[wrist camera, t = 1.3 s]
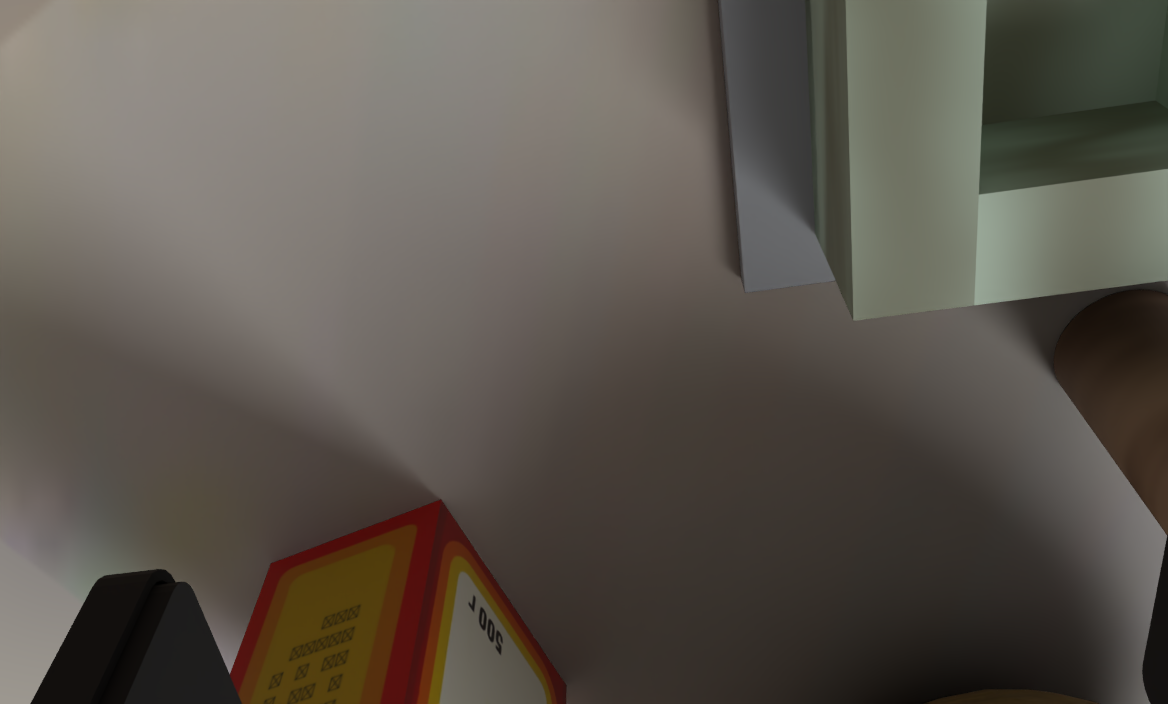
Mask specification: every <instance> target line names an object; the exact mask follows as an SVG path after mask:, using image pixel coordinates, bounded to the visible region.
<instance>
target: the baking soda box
mask: <svg viewBox="0 0 1168 704" xmlns="http://www.w3.org/2000/svg"><path fill="white" fill-rule="evenodd" d="M230 677H231V679H232V681H233V684H234V686H235V688H236V691H237V693H238V695H239V698H240V700H241V702H242V704H566V684H565V683H564V681H563V680H562V678H561V677H560V675H559V674H558V672H557V671H556V669H555V668H554V666H553V665H552V663H551V662H550V660H549V659H548V657H547V656H546V654H545V653H544V651H543V650H542V648H541V647H540V646H539V644H538V643H537V641H536V640H535V638H534V637H533V635H532V634H531V632H530V631H529V629H528V628H527V626H526V625H525V623H524V622H523V620H522V619H521V617H520V616H519V614H518V613H517V611H516V610H515V608H514V607H513V605H512V604H511V602H510V601H509V599H508V598H507V597H506V595H505V594H504V592H503V591H502V589H501V588H500V586H499V585H498V583H497V582H496V580H495V579H494V577H493V576H492V574H491V573H490V571H489V570H488V568H487V567H486V565H485V564H484V562H483V561H482V559H481V558H480V556H479V555H478V553H477V552H476V550H475V549H474V548H473V546H472V545H471V543H470V542H469V540H468V539H467V537H466V536H465V534H464V533H463V531H462V530H461V528H460V527H459V525H458V524H457V522H456V521H455V519H454V518H453V516H452V515H451V513H450V512H449V510H448V509H447V507H446V506H445V504H444V503H443V501H442V500H439V501H436V502H433V503H431V504H428V505H425V506H423V507H420V508H417V509H415V510H412V511H409V512H407V513H404V514H401V515H399V516H396V517H393V518H391V519H388V520H385V521H383V522H380V523H378V524H375V525H372V526H370V527H367V528H364V529H362V530H359V531H356V532H354V533H351V534H348V535H346V536H343V537H340V538H338V539H335V540H332V541H330V542H327V543H324V544H322V545H319V546H316V547H314V548H311V549H308V550H306V551H303V552H300V553H298V554H295V555H292V556H290V557H287V558H284V559H282V560H279V561H276V562H274V563H271V565H270V568H269V570H268V573H267V576H266V578H265V581H264V584H263V587H262V589H261V592H260V595H259V597H258V600H257V603H256V605H255V608H254V611H253V614H252V616H251V619H250V622H249V624H248V627H247V630H246V632H245V635H244V638H243V641H242V643H241V646H240V649H239V651H238V654H237V657H236V659H235V662H234V665H233V668H232V670H231V673H230Z"/></svg>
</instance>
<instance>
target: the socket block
mask: <svg viewBox="0 0 1168 704" xmlns="http://www.w3.org/2000/svg"><path fill="white" fill-rule="evenodd" d="M805 13H806V36H807V59H808V82H809V105H810V127H811V150H812V173H813V196H814V219H815V235H816V237H817V240H818V242H819V244H820V246H821V249H822V251H823V253H824V255H825V258H826V260H827V262H828V264H829V267H830V269H831V271H832V273H833V276H834V278H835V280H836V282H837V285H838V287H839V289H840V291H841V294H842V296H843V298H844V301H845V303H846V305H847V307H848V310H849V312H850V314H851V316H852V319H853V321H857V320H865V319H872V318H880V317H888V316H896V315H903V314H911V313H919V312H927V311H934V310H942V309H950V308H958V307H965V306H973V305H981V304H989V303H996V302H1004V301H1012V300H1020V299H1027V298H1035V297H1043V296H1051V295H1058V294H1066V293H1074V292H1082V291H1089V290H1097V289H1105V288H1113V287H1121V286H1128V285H1136V284H1144V283H1152V282H1159V281H1167V280H1168V0H805Z"/></svg>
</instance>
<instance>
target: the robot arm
mask: <svg viewBox="0 0 1168 704" xmlns="http://www.w3.org/2000/svg"><path fill="white" fill-rule="evenodd" d="M1142 673H1143V682H1144V686H1145V690H1146V693H1147V696H1148V699H1149V701H1150V703H1151V704H1168V535H1167V540H1166V545H1165V551H1164V556H1163V561H1162V566H1161V572H1160V577H1159V582H1158V587H1157V593H1156V598H1155V603H1154V608H1153V614H1152V619H1151V624H1150V629H1149V635H1148V640H1147V645H1146V650H1145V656H1144V661H1143V670H1142ZM31 704H242V702H241V700H240V698H239V695H238V693H237V691H236V688H235V686H234V684H233V681H232V679H231V677H230V674H229V672H228V670H227V667H226V665H225V663H224V661H223V658H222V656H221V654H220V651H219V649H218V647H217V644H216V642H215V640H214V637H213V635H212V633H211V630H210V628H209V626H208V623H207V621H206V619H205V616H204V614H203V612H202V610H201V607H200V605H199V603H198V600H197V598H196V596H195V593H194V591H193V590H192V588H191V586H190V585H189V584H188V583H186V582H175V580H174V579H173V577H172V575H171V574H170V573H168V572H167V571H166V570H162V569H156V570H148V571H139V572H131V573H123V574H114V575H106V576H103V577H102V578H100V579H98V580H97V582H96V583H95V584H94V586H93V587H92V589H91V591H90V592H89V594H88V596H87V598H86V600H85V602H84V604H83V606H82V608H81V610H80V612H79V613H78V615H77V617H76V619H75V621H74V623H73V625H72V626H71V628H70V630H69V632H68V634H67V636H66V638H65V640H64V642H63V644H62V645H61V647H60V649H59V651H58V653H57V655H56V657H55V659H54V660H53V662H52V664H51V666H50V668H49V670H48V672H47V674H46V675H45V677H44V679H43V681H42V683H41V685H40V687H39V689H38V691H37V693H36V694H35V696H34V698H33V700H32V702H31Z"/></svg>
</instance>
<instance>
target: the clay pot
mask: <svg viewBox="0 0 1168 704" xmlns="http://www.w3.org/2000/svg"><path fill="white" fill-rule="evenodd" d="M925 704H1099V703H1096V702H1093V701H1088V700H1084V699H1080V698H1075V697H1071V696H1066V695H1062V694H1058V693H1053V692H1045V691H1038V690H1027V689H985V690H980V691H975V692H970V693H964V694H959V695H954V696H949V697H944V698H940V699H937V700H934V701H931V702H928V703H925Z"/></svg>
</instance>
